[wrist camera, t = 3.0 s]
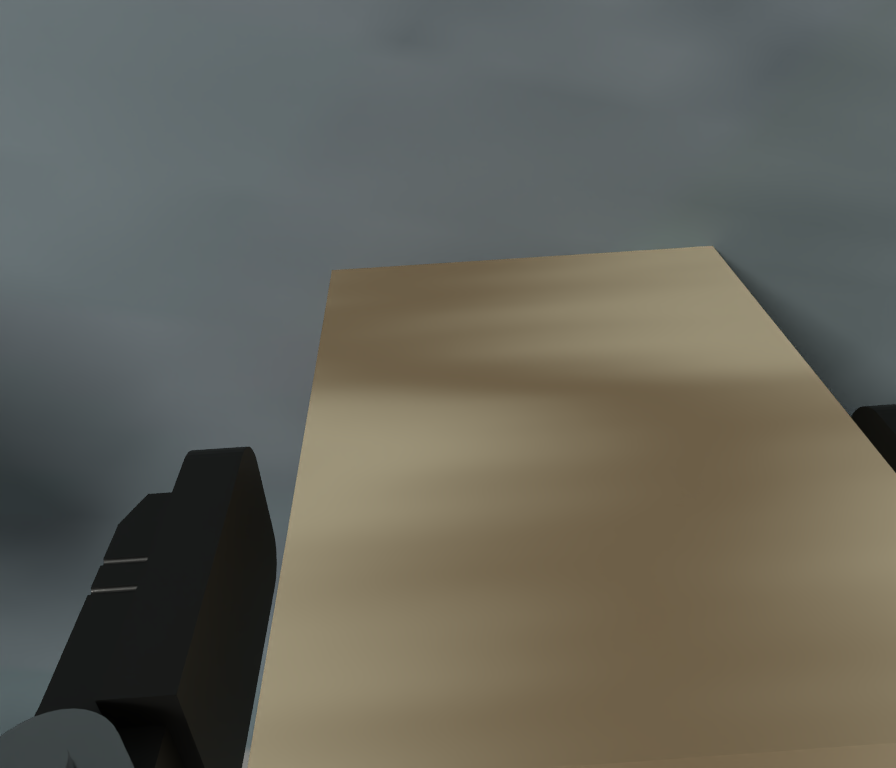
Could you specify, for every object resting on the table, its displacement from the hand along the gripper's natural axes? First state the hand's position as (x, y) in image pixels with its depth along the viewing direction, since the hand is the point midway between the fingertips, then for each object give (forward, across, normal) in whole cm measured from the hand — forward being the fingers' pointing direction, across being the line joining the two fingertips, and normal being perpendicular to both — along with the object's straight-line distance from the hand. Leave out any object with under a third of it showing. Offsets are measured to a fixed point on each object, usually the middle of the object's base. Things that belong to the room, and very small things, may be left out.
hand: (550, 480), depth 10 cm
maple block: (+2, 0, 0) cm, 2 cm away
